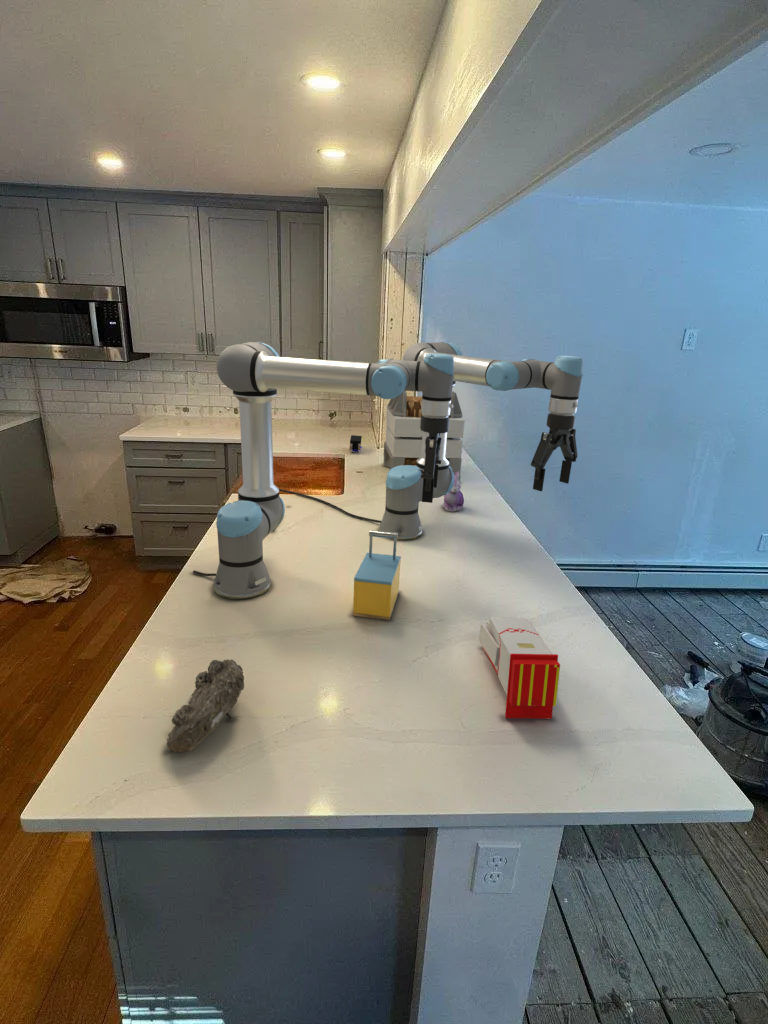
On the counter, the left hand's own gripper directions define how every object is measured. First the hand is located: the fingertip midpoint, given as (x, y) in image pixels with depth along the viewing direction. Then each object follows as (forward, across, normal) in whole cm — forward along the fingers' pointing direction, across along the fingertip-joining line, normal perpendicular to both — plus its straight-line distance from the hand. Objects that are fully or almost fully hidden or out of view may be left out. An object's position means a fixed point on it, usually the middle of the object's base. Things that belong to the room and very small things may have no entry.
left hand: (429, 494), depth 153 cm
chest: (+28, -13, +11) cm, 33 cm away
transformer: (+28, +118, +14) cm, 122 cm away
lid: (+18, -13, +11) cm, 25 cm away
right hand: (0, +18, -34) cm, 38 cm away
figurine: (+28, +71, -5) cm, 76 cm away
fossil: (+28, -64, +34) cm, 78 cm away
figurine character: (+28, +152, +53) cm, 163 cm away
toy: (+28, -38, -24) cm, 53 cm away
